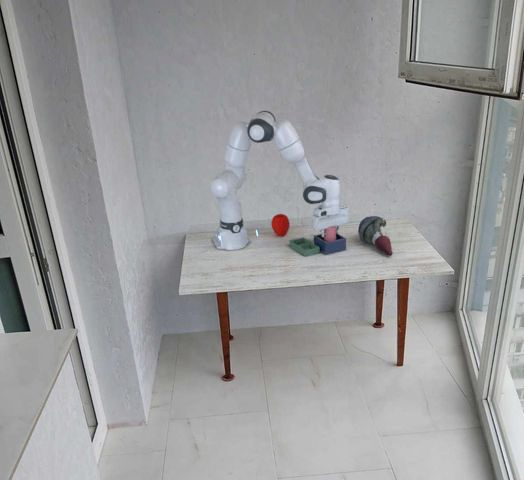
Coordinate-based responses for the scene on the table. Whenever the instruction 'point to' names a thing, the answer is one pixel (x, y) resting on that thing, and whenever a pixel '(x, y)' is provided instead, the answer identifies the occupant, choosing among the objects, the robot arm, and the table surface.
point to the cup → (330, 234)
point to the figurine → (375, 233)
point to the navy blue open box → (330, 244)
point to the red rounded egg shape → (280, 224)
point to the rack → (304, 246)
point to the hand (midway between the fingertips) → (329, 235)
